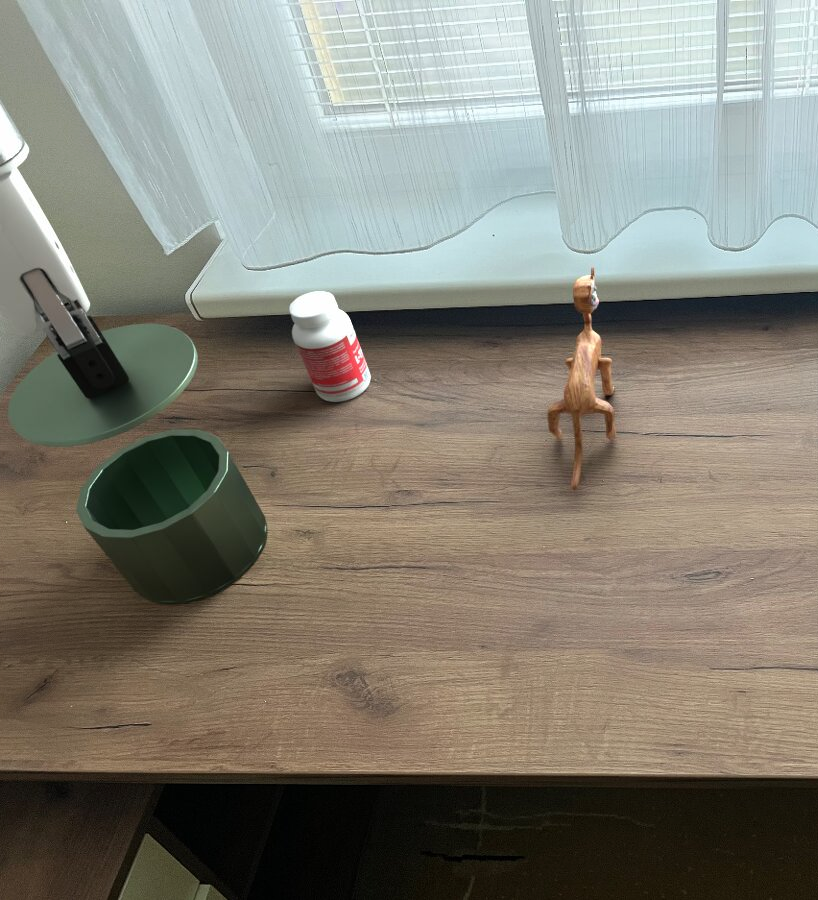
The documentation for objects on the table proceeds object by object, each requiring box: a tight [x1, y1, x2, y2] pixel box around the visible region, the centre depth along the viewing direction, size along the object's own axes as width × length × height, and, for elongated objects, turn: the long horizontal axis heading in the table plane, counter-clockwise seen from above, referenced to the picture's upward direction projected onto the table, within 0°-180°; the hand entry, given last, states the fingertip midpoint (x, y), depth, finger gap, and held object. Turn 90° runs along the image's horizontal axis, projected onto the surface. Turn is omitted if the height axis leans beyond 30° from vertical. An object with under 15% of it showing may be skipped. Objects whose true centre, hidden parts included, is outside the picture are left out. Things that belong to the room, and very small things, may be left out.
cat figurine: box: [546, 266, 617, 491], centre depth 83 cm, size 18×7×14 cm, turn 173°
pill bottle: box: [288, 290, 371, 403], centre depth 93 cm, size 6×6×11 cm
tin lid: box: [7, 317, 199, 448], centre depth 64 cm, size 14×14×6 cm
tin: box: [75, 429, 268, 606], centre depth 78 cm, size 13×13×10 cm
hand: (101, 376), depth 66 cm, fingers closed on tin lid, 2 cm apart
